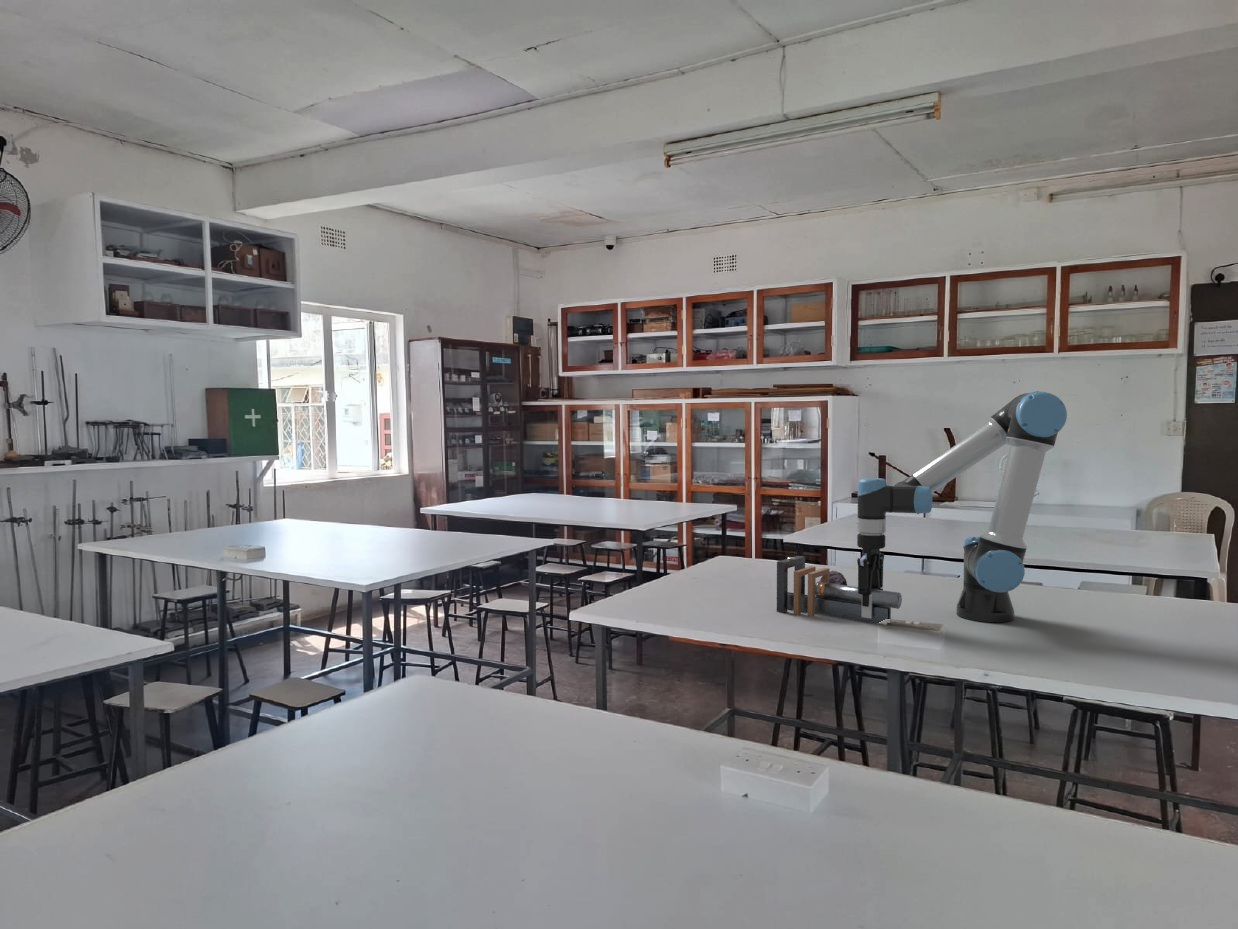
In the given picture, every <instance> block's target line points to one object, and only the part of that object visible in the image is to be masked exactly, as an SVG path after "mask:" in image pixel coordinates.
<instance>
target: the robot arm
mask: <svg viewBox="0 0 1238 929" xmlns="http://www.w3.org/2000/svg"><path fill="white" fill-rule="evenodd" d="M1067 419H1068V412H1067V407H1066V405H1065V403H1064V402H1063V401H1062V400H1061V399H1060V397H1058V396H1057V395H1055V394H1053V393H1050V392H1047V391H1039V390H1038V391H1032V392H1027V393H1026V392H1025V393H1022V394H1019V395H1018V396H1016V397H1014V398H1013V399H1011V400H1010V401H1009V402H1007V404H1006V405H1005V406H1003V407H1002V408H1001V409H999V410H998V411H996V412H995V413H994V414H992V415H991V416H989V418H988V421H987V423H985V424H984V425H983V426H981V427H980V428H979V429H977V430H976V431H974V432H972V433H971V434H969V435H968V436H967V437H965V438H964V439H962V440H961V441H959V442H957V443H956V444H955V445H953V446H952V447H951V448H949V449H948V450H946V451H945V452H943V453H942V454H941V455H938V456H937V457H935V459H933V460H931V461H930V462H928V463H927V464H925V465H924V466H922V467H921V468H919V469H918V470H916V471H915V472H914V473H912V475H910V476H908V477H906V478H905V479H903V480H901V481H898V482H897V483H895V484H894V485H888V484H887V480H886V479H885V478H880V477H879V478H876V477H863V478H861V479H860V480H859V481H858V486H857V520H856V522H855V523H856V524H857V532H858V534H857V535H856V536H857V537H856V539H857V541H856V542H857V543H856V545H857V547H858V548H861V549H862V553H861V558H860V557H859V558H857V560H856V561H857V570H858V571H857V587H858V594H862V617H864V618H872V595H870V594H871V589H876V590H884V588H883V586H884V560H885V553H884V552H881V549H884V548H886V534H885V533H886V530H887V527H886V524H887V523H886V521H887V520H886V514H887V513H890V514H891V513H893V514H894V513H895V514H898V513H899V514H917V515H920V514H929V513H931V511H932V508H933V493H934V492H935V491H937V490H939V489H940V488H942V487H943V486H944V485H946V484H948V483H949V482H951V481H952V480H954V479H956V477H959V476H960V475H961V474H963V473H965V472H966V471H967V470H969V469H971V468H972V467H973V466H974V465H976V464H978V463H980V462H981V461H983V460H985V459H986V458H987V457H988V456H990V455H991V454H993V453H994V452H996V451H997V450H999V449H1001V448H1003V446H1005V445H1007V446H1008V445H1009V449H1008V454H1007V457H1006V461H1005V464H1004V468H1003V472H1002V477H1001V480H1000V482H999V483H1000V484H999V488H998V490H997V491H998V492H997V496H996V499H995V502H994V506H993V509H992V510H993V511H992V515H991V518H990V522H989V525H988V529H987V531H986V532H984V533H982V534H980V536H967V537H966V538H965V539H964V541H963V543H964V544H963V546H962V547H963V588H962V591H961V594H960V596H959V599H958V602H957V603H956V612H955V613H956V615H957V616H958V617H961V618H963V619H967V620H971V621H977V622H986V623H1007V622H1011V621H1014V620H1015V609H1014V606H1013V602H1012V600H1011V597H1010V594H1009V592H1010V591H1013V590H1015V589H1016V588H1018V587H1019V586H1020V585H1021V583H1022V582H1023V580H1024V578H1025V573H1026V572H1025V565H1024V560H1025V555H1026V552H1027V548H1028V547H1027V545H1026V544H1025V542H1024V540H1023V538H1024V536H1025V535H1024V534H1025V531H1026V526H1027V523H1028V520H1029V516H1030V513H1031V509H1032V505H1033V500H1034V497H1035V493H1036V490H1037V487H1038V483H1039V479H1040V474H1041V471H1042V468H1043V465H1044V461H1045V457H1046V453H1048V451H1050V450H1052V449H1053V448H1055V445H1056V440H1057V436H1058V433H1060V431H1061V430H1062V429H1063V428H1064V426H1065V424H1066V422H1067Z"/></svg>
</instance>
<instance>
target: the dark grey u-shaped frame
mask: <svg viewBox="0 0 1238 929" xmlns="http://www.w3.org/2000/svg"><path fill="white" fill-rule="evenodd" d="M790 568H794V571H797V570H800V569H803V568H806V556H804V555H803V556H802V555H796V556H792V557H791V556H788V557H787V558H785V559H781V560H777V561H776V612H777V613H782V614H785V613H788V612H789V609H788V592H789V591H788V586H789V582H788V578H789V577H788V573H789V572H788V570H789V569H790ZM801 594H805V595H806V575H804V576H801Z"/></svg>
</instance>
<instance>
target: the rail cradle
mask: <svg viewBox="0 0 1238 929" xmlns="http://www.w3.org/2000/svg"><path fill="white" fill-rule="evenodd" d="M788 610H790V611H791V610H792V611H794V592H792V591H791V592H790V591H788ZM801 612H802V613H808V594H806V593H805V594H801ZM815 615H821V616H827V617H834V618H839V619H846V620H853V621H856V622H857V621H859V622H864V623H870V624H876V623H879V622H881V621H883V620H885V619H891V620H892V608H890V607H883V606H877V605H872V618H864V617H862V603H856V602H850V601H843V600H836V599H829V598H823V597H817V596H816V595H815Z"/></svg>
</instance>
